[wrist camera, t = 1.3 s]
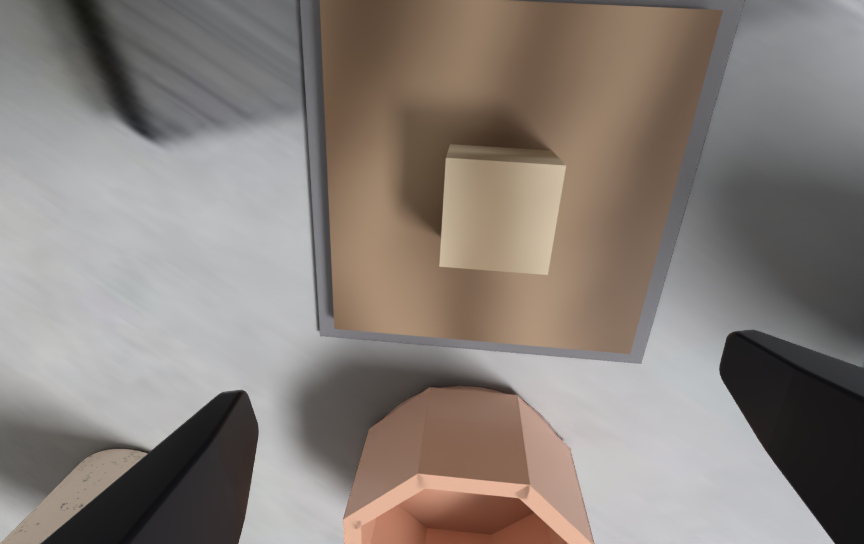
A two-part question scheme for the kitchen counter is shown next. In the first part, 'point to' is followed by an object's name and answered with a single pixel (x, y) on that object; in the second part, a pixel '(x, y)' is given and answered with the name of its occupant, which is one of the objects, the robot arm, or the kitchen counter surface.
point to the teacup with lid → (73, 494)
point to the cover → (504, 163)
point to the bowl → (465, 475)
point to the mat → (732, 8)
